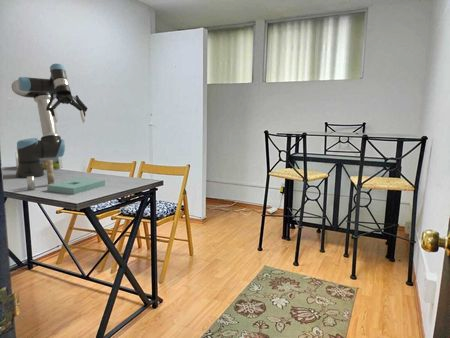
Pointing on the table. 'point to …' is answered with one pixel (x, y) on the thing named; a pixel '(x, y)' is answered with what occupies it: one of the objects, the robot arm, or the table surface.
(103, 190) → the table surface
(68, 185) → the hole plate
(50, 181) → the tall pin
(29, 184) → the short pin
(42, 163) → the snack box
